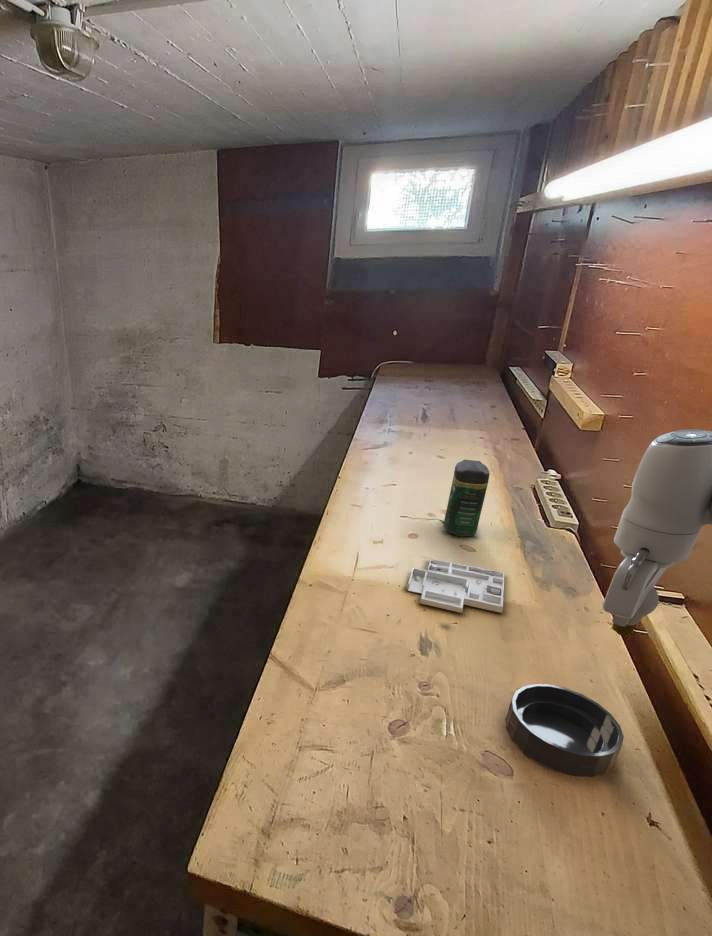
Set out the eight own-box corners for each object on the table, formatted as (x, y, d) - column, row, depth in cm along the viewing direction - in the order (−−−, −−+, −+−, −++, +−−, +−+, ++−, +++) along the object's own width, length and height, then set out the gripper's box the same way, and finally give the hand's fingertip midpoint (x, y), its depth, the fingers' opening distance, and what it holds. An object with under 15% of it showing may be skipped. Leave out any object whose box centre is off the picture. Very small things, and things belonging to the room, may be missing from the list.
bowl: (558, 699, 95) (566, 676, 93) (637, 768, 83) (648, 744, 80) (484, 715, 93) (491, 692, 90) (554, 789, 80) (564, 765, 78)
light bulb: (607, 643, 88) (626, 589, 84) (591, 621, 93) (608, 569, 89) (651, 647, 87) (672, 593, 82) (633, 625, 92) (652, 572, 88)
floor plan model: (399, 615, 117) (401, 608, 116) (415, 559, 137) (417, 552, 136) (501, 640, 109) (504, 632, 108) (503, 576, 128) (505, 569, 127)
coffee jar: (478, 539, 144) (493, 472, 136) (444, 535, 146) (457, 469, 138) (474, 522, 152) (488, 458, 144) (442, 519, 155) (454, 456, 146)
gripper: (661, 572, 74) (630, 654, 80) (697, 522, 86) (667, 597, 92) (605, 556, 79) (579, 634, 85) (646, 509, 90) (621, 582, 96)
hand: (625, 614), depth 89 cm, fingers closed on light bulb, 5 cm apart
